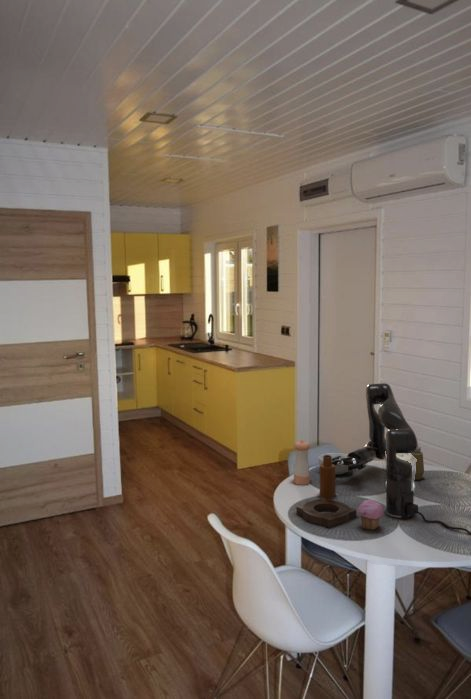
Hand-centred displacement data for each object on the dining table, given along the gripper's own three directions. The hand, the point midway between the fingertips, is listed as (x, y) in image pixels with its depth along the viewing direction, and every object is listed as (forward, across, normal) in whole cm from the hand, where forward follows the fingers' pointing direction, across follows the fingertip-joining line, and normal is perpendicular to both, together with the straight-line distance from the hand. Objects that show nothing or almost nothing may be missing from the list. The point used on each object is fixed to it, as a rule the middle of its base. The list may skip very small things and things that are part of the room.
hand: (340, 466), depth 247 cm
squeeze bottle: (-34, +19, +10) cm, 40 cm away
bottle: (+10, 0, +10) cm, 14 cm away
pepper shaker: (+3, -18, +10) cm, 21 cm away
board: (+28, +11, +10) cm, 32 cm away
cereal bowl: (-19, -13, +10) cm, 25 cm away
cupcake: (+27, +30, +10) cm, 41 cm away
